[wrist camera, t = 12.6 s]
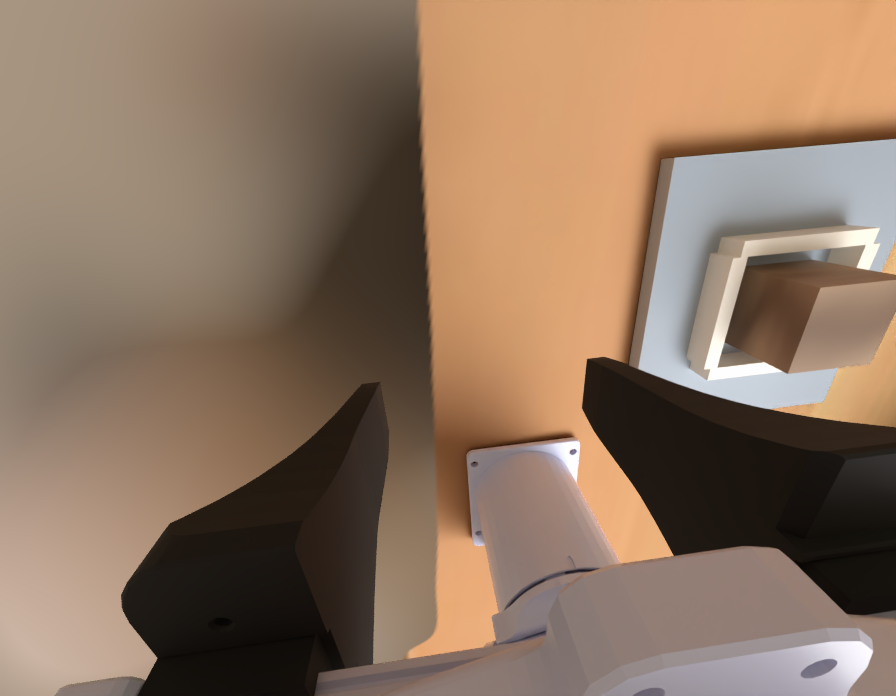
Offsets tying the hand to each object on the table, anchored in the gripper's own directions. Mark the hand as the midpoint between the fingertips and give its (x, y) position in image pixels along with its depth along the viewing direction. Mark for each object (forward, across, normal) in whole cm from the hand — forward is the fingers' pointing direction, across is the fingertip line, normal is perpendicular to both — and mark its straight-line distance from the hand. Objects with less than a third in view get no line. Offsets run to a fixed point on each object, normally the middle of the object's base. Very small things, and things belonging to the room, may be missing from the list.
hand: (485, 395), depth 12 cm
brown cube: (+8, -18, +1) cm, 20 cm away
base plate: (+9, -18, +1) cm, 20 cm away
